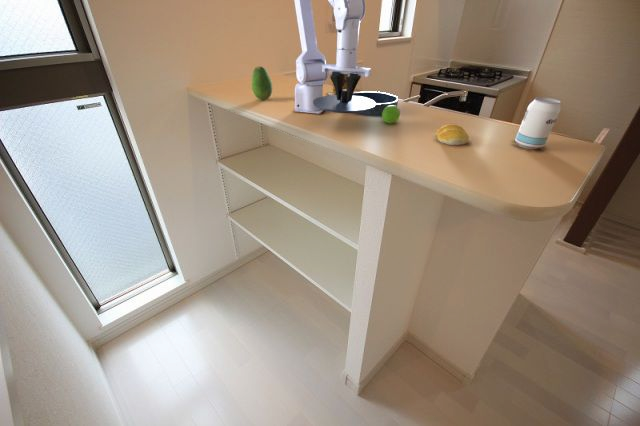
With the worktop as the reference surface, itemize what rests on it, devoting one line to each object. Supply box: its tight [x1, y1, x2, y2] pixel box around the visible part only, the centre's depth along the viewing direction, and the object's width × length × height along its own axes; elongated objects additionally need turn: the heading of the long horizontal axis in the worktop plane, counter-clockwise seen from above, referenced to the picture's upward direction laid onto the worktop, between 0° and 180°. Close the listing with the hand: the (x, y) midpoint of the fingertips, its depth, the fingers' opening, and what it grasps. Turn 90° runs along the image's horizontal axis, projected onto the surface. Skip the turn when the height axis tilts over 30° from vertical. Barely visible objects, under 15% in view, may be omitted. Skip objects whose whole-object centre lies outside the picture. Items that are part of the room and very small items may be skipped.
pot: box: [353, 91, 399, 117], centre depth 109 cm, size 18×18×4 cm
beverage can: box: [514, 97, 562, 150], centre depth 78 cm, size 7×7×12 cm
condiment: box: [327, 63, 349, 95], centre depth 123 cm, size 7×8×12 cm
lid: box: [313, 89, 376, 114], centre depth 89 cm, size 19×19×4 cm
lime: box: [381, 105, 401, 124], centre depth 95 cm, size 6×6×6 cm
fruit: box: [251, 65, 273, 101], centre depth 115 cm, size 8×8×12 cm
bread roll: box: [436, 123, 470, 146], centre depth 83 cm, size 8×9×4 cm
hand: (344, 100), depth 90 cm, fingers closed on lid, 2 cm apart
